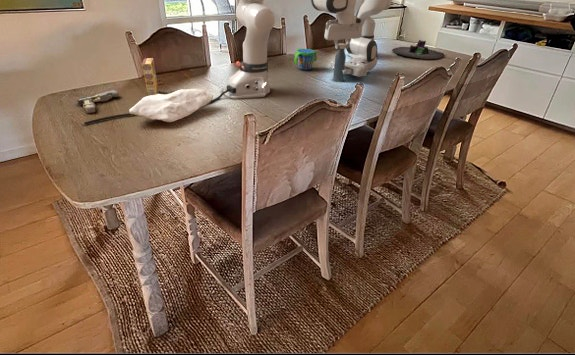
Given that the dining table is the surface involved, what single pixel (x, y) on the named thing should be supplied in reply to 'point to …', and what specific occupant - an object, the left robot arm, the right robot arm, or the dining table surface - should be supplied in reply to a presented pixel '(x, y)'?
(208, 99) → the crumpled cloth
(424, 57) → the dark round tray
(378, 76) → the dining table surface
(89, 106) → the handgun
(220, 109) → the dining table surface
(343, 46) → the cap
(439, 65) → the dining table surface
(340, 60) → the bottle
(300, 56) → the snack cup
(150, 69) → the candy box
